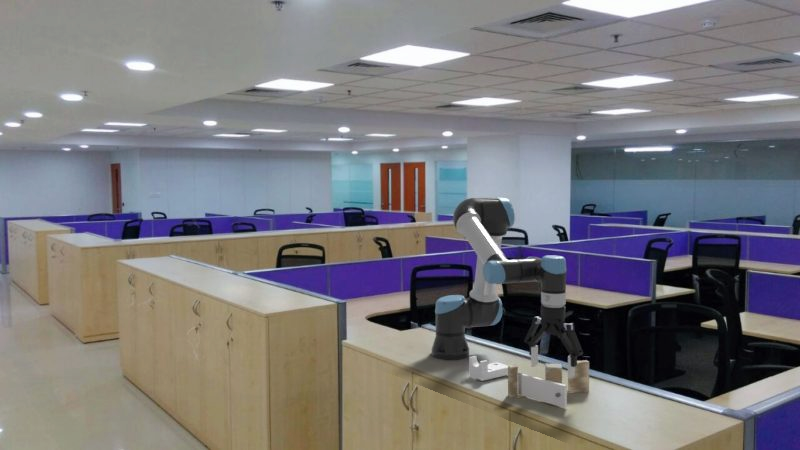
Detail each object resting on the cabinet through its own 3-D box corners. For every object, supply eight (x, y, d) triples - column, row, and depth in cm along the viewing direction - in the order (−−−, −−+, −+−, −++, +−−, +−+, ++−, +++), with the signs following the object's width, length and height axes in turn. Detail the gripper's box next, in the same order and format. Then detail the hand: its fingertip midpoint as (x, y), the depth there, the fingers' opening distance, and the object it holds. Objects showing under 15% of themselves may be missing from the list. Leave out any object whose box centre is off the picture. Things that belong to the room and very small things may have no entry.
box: (545, 401, 191) (545, 366, 190) (544, 396, 195) (544, 362, 194) (562, 402, 190) (562, 367, 189) (561, 397, 194) (561, 363, 193)
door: (515, 395, 196) (515, 373, 195) (519, 393, 197) (519, 371, 197) (562, 408, 183) (562, 385, 183) (566, 406, 185) (567, 384, 184)
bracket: (481, 383, 210) (481, 362, 209) (469, 377, 216) (469, 357, 215) (510, 376, 216) (510, 355, 216) (497, 371, 222) (497, 351, 222)
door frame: (510, 398, 194) (510, 367, 194) (507, 395, 197) (507, 364, 196) (589, 392, 198) (589, 362, 198) (585, 389, 201) (585, 359, 200)
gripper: (513, 300, 197) (513, 364, 199) (582, 313, 179) (580, 383, 181) (527, 297, 202) (527, 359, 204) (595, 309, 184) (594, 377, 186)
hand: (552, 370), depth 192 cm, fingers open, 13 cm apart
